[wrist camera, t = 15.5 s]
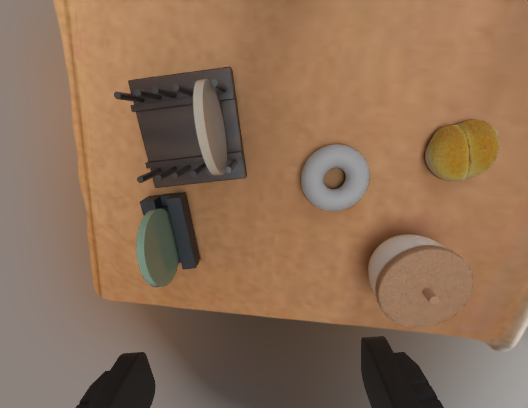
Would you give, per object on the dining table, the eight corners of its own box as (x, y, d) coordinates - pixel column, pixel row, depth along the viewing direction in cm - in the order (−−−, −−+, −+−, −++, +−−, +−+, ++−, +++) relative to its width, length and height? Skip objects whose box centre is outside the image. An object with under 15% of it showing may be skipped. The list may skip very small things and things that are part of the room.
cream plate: (210, 86, 35) (184, 72, 24) (217, 85, 35) (195, 70, 24) (223, 167, 38) (206, 185, 28) (230, 166, 38) (215, 184, 28)
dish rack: (133, 82, 36) (99, 72, 29) (231, 68, 36) (222, 56, 28) (159, 185, 41) (135, 199, 34) (246, 176, 40) (241, 188, 33)
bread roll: (420, 130, 37) (437, 132, 34) (486, 114, 37) (511, 114, 33) (423, 185, 40) (440, 192, 36) (485, 171, 39) (508, 177, 35)
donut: (313, 134, 38) (290, 196, 41) (317, 134, 35) (292, 202, 38) (375, 155, 39) (349, 215, 42) (385, 158, 36) (355, 223, 38)
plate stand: (148, 196, 42) (139, 201, 39) (186, 192, 41) (180, 197, 38) (165, 261, 45) (158, 271, 42) (200, 258, 45) (196, 268, 42)
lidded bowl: (363, 220, 42) (394, 254, 31) (442, 224, 42) (500, 259, 31) (352, 286, 46) (376, 336, 35) (423, 290, 46) (469, 341, 35)
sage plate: (163, 199, 41) (126, 228, 30) (169, 198, 41) (134, 227, 30) (178, 259, 44) (150, 305, 34) (184, 259, 44) (158, 304, 34)
